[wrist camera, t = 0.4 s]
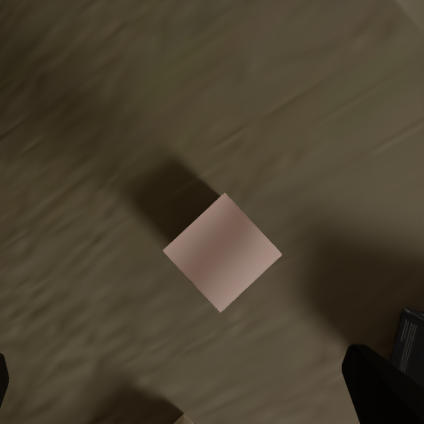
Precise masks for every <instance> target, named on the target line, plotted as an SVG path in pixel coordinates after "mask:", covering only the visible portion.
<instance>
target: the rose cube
mask: <svg viewBox="0 0 424 424" xmlns="http://www.w3.org/2000/svg"><path fill="white" fill-rule="evenodd" d="M163 252H164V253H165V254H166V255H167V256H168V257H169V258H170V259H171V260H172V261H173V262H174V263H175V264H176V265H177V267H178V268H179V269H180V270H181V271H182V272H183V273H184V274H185V275H186V276H187V277H188V278H189V279H190V280H191V281H192V283H193V284H194V285H195V286H196V287H197V288H198V289H199V290H200V291H201V292H202V293H203V294H204V295H205V296H206V298H207V299H208V300H209V301H210V302H211V303H212V304H213V305H214V306H215V307H216V308H217V309H218V310H219V311H220V312H222V311H223V310H224V309H225V308H226V307H227V306H228V305H229V304H230V303H231V302H232V301H233V300H234V299H236V298H237V297H238V296H239V295H240V294H241V293H242V292H243V291H244V290H245V289H246V288H247V287H248V286H249V285H250V284H252V283H253V282H254V281H255V280H256V279H257V278H258V277H259V276H260V275H261V274H262V273H263V272H264V271H265V270H266V269H268V268H269V267H270V266H271V265H272V264H273V263H274V262H275V261H276V260H277V259H278V258H279V257H280V256H281V255H282V254H281V253H280V251H279V250H278V249H277V248H276V247H275V246H274V245H273V244H272V243H271V242H270V241H269V240H268V239H267V237H266V236H265V235H264V234H263V233H262V232H261V231H260V230H259V229H258V228H257V227H256V226H255V225H254V224H253V222H252V221H251V220H250V219H249V218H248V217H247V216H246V215H245V214H244V213H243V212H242V211H241V210H240V208H239V207H238V206H237V205H236V204H235V203H234V202H233V201H232V200H231V199H230V198H229V197H228V196H227V194H226V193H224V194H223V195H222V196H221V197H220V198H219V199H217V200H216V201H215V202H214V203H213V204H212V205H211V206H210V207H209V208H208V209H207V210H206V211H205V212H204V213H202V214H201V215H200V216H199V217H198V218H197V219H196V220H195V221H194V222H193V223H192V224H191V225H190V226H188V227H187V228H186V229H185V230H184V231H183V232H182V233H181V234H180V235H179V236H178V237H177V238H176V239H175V240H173V241H172V242H171V243H170V244H169V245H168V246H167V247H166V248H165V249H164V250H163Z"/></svg>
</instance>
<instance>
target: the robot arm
mask: <svg viewBox="0 0 424 424" xmlns="http://www.w3.org/2000/svg"><path fill="white" fill-rule="evenodd" d="M342 374H343V377H344V380H345V382H346V385H347V388H348V391H349V394H350V397H351V399H352V402H353V405H354V408H355V411H356V414H357V416H358V419H359V422H360V424H424V387H423V386H421V385H420V384H419V383H417V382H416V381H415V380H413V379H412V378H410V377H409V376H408V375H406V374H405V373H404V372H402V371H401V370H400V369H398V368H397V367H395V366H394V365H393V364H391V363H390V362H389V361H387V360H386V359H384V358H383V357H382V356H380V355H379V354H378V353H376V352H375V351H374V350H372V349H371V348H369V347H368V346H366V345H364V344H351V345H350V346H348V349H347V351H346V354H345V357H344V360H343V363H342ZM8 383H9V374H8V370H7V366H6V362H5V358H4V355H3V354H2V353H0V407H1V404H2V401H3V398H4V396H5V393H6V390H7V387H8Z"/></svg>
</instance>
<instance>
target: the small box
mask: <svg viewBox="0 0 424 424" xmlns="http://www.w3.org/2000/svg"><path fill="white" fill-rule="evenodd" d="M390 363H391V364H393V365H394V366H395V367H397V368H398V369H400V370H401V371H402V372H404V373H405V374H406V375H408V376H409V377H410V378H412V379H413V380H415V381H416V382H417V383H419V384H420V385H421V386H423V387H424V312H419V311H415V310H411V309H408V308H406V309H405V310H404V311H403V314H402V316H401V323H400V327H399V331H398V335H397V339H396V343H395V347H394V350H393V354H392V358H391V361H390Z"/></svg>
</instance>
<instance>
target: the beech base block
mask: <svg viewBox="0 0 424 424" xmlns="http://www.w3.org/2000/svg"><path fill="white" fill-rule="evenodd" d="M174 424H194V423H193V422H192V421H191V420H190V419H189V418H188V417H187V416H186V415H185V414H183V415H182V416H181V417H180V418H179V419H178V420H177V421H176V422H175V423H174Z"/></svg>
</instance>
